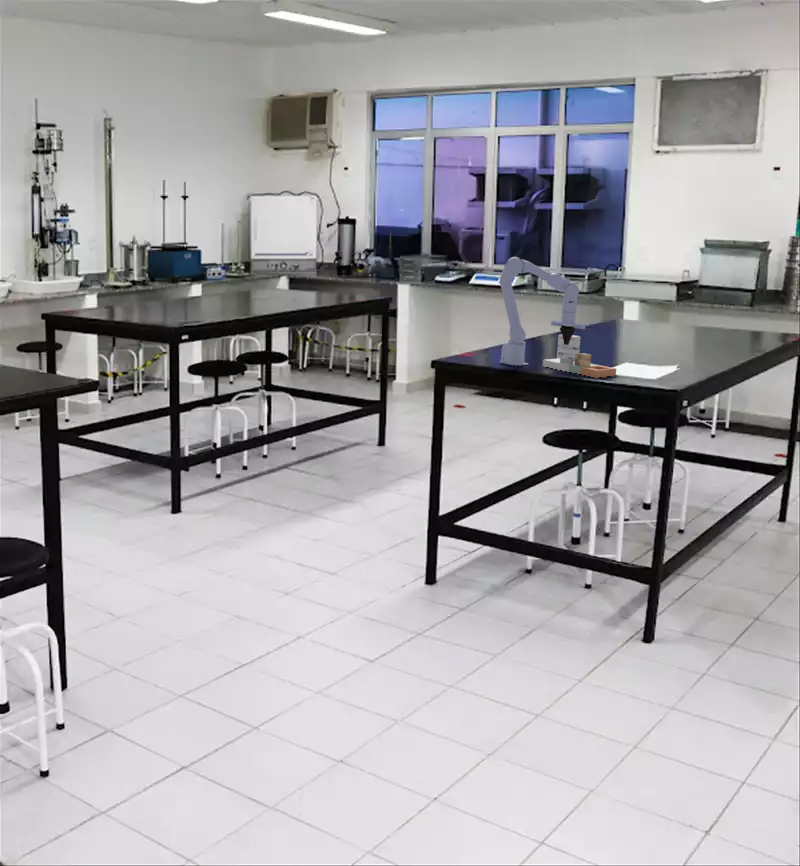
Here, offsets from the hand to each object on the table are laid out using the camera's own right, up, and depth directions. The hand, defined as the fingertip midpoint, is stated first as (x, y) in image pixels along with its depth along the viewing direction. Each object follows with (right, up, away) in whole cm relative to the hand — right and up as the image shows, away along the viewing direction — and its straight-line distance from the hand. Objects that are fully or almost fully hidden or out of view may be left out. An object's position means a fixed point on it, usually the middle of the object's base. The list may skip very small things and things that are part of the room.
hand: (566, 344), depth 423 cm
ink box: (+3, -7, +15) cm, 17 cm away
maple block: (+5, -9, -11) cm, 15 cm away
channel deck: (+4, -12, -7) cm, 14 cm away
